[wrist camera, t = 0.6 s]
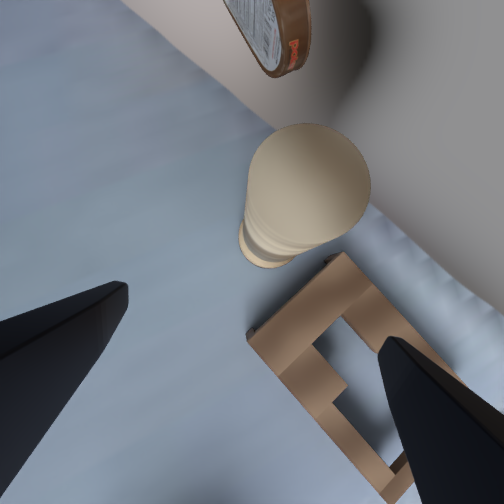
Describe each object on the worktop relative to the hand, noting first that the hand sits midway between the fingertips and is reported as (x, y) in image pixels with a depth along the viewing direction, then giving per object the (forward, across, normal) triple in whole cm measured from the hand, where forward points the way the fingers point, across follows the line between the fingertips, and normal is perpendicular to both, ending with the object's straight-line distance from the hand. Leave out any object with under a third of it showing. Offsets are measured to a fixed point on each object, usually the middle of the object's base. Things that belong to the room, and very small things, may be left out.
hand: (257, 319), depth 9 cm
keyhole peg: (+15, -1, +3) cm, 15 cm away
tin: (+26, +5, -14) cm, 30 cm away
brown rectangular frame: (+10, -10, +11) cm, 18 cm away
